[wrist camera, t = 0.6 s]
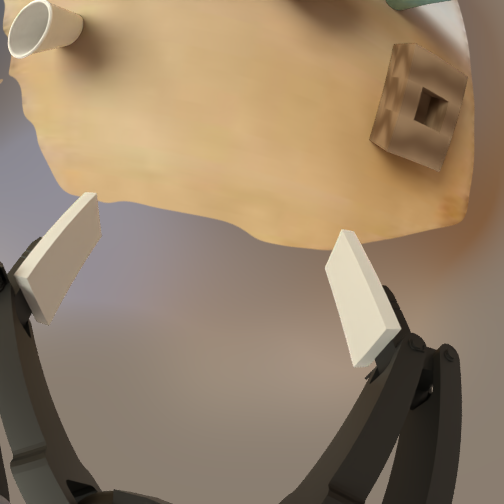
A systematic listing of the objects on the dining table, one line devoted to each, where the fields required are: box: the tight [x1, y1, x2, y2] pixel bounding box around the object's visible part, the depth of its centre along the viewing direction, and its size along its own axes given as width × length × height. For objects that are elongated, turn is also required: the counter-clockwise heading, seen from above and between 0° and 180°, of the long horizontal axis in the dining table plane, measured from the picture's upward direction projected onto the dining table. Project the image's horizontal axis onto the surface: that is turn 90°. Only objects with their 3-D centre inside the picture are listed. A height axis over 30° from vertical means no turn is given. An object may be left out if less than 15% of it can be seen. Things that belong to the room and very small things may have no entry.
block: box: [369, 43, 468, 172], centre depth 29 cm, size 16×10×6 cm, turn 170°
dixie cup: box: [8, 0, 83, 59], centre depth 18 cm, size 8×8×10 cm
